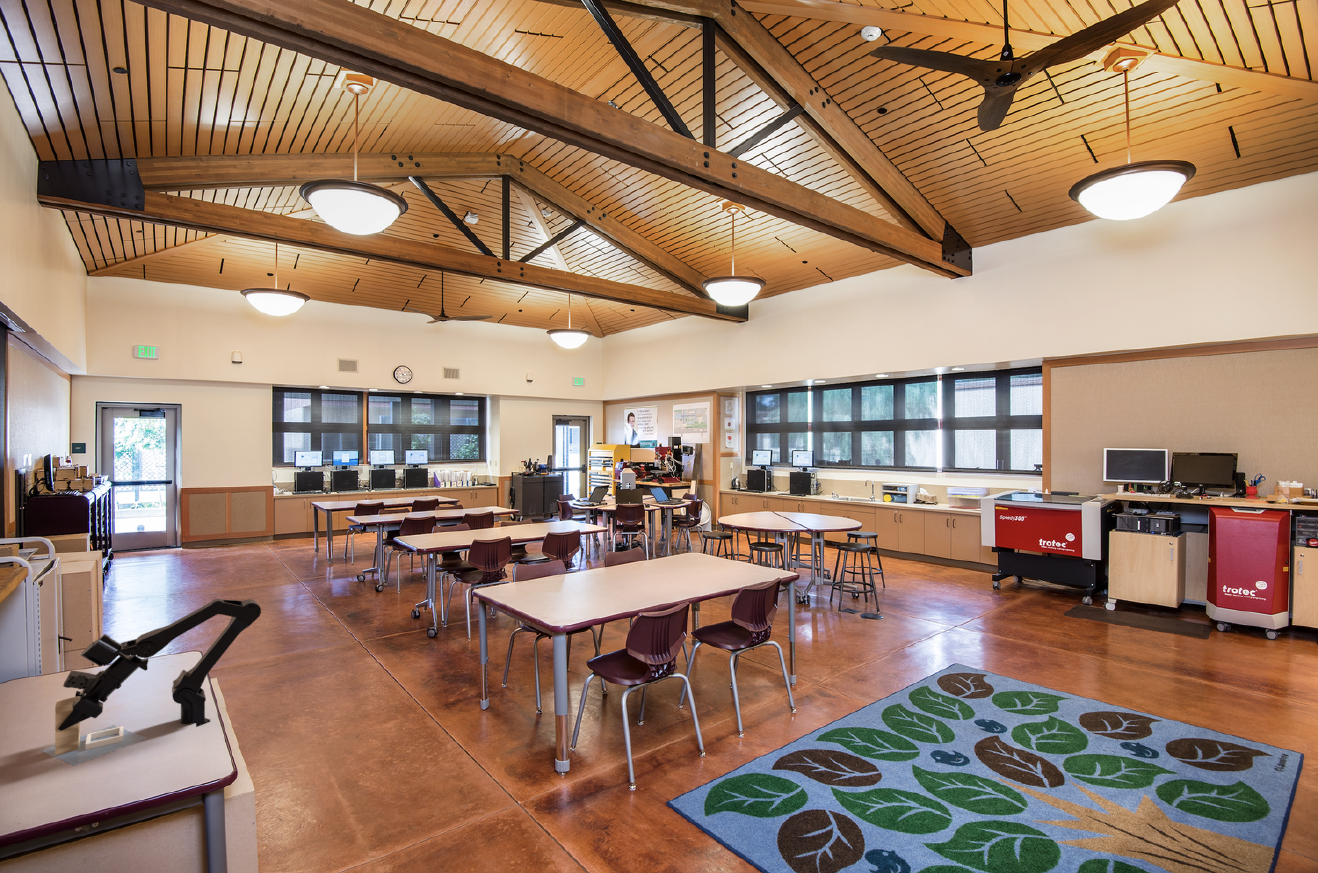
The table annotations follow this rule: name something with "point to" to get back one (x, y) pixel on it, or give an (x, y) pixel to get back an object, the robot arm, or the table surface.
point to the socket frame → (104, 741)
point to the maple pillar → (71, 735)
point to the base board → (85, 755)
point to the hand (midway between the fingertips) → (60, 726)
